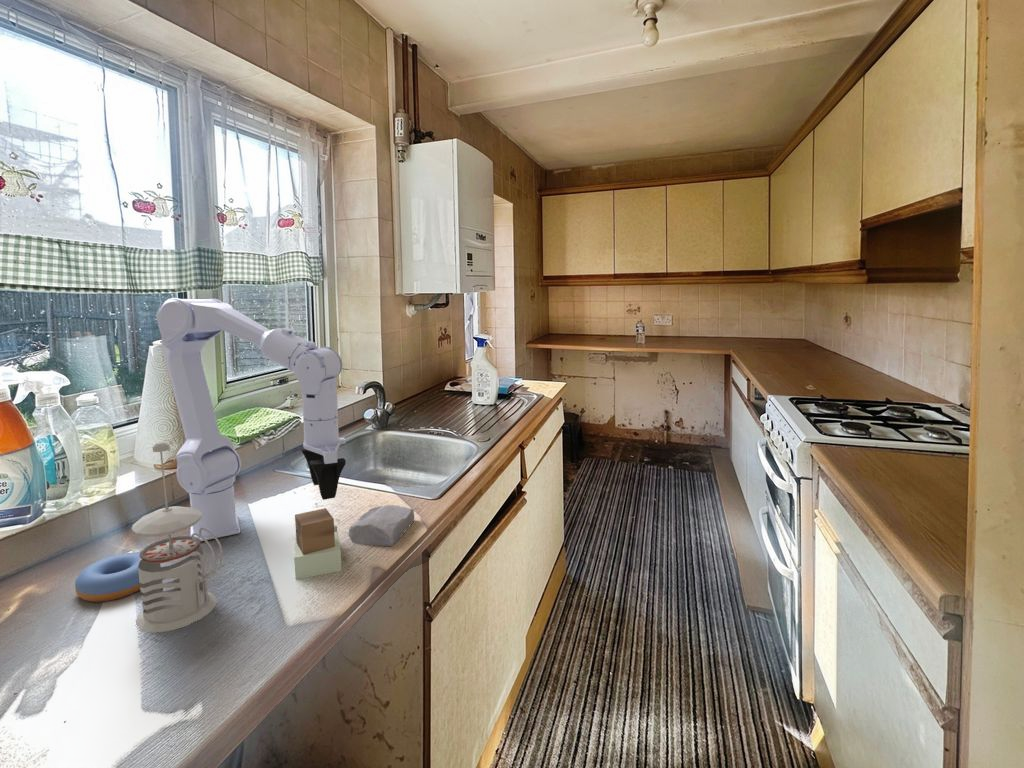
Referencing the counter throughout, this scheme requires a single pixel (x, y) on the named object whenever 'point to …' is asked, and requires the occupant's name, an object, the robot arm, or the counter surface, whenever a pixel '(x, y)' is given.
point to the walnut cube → (314, 531)
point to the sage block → (318, 561)
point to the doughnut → (109, 578)
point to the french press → (189, 591)
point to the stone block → (381, 525)
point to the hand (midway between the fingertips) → (324, 490)
